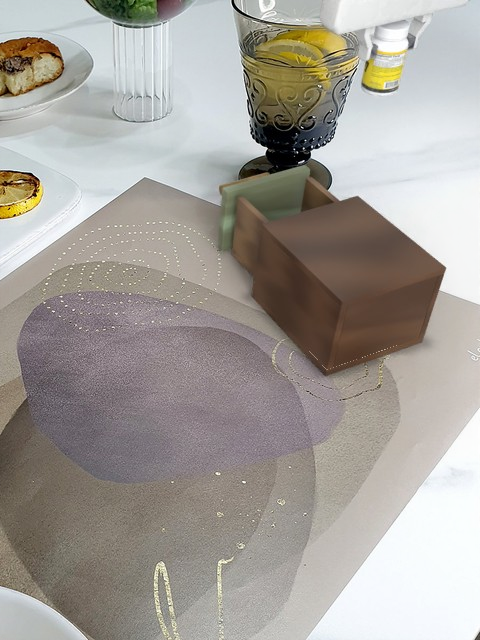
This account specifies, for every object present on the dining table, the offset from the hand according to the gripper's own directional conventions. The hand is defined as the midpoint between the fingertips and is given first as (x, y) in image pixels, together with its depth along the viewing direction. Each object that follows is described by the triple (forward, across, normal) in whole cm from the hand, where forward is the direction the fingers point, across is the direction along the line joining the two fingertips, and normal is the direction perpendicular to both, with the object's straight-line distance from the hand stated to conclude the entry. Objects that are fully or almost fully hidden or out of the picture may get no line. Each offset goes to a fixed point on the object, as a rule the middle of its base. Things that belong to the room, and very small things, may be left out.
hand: (386, 53), depth 108 cm
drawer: (+18, -20, -10) cm, 29 cm away
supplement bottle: (+5, 0, 0) cm, 5 cm away
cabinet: (+19, -19, -23) cm, 35 cm away
